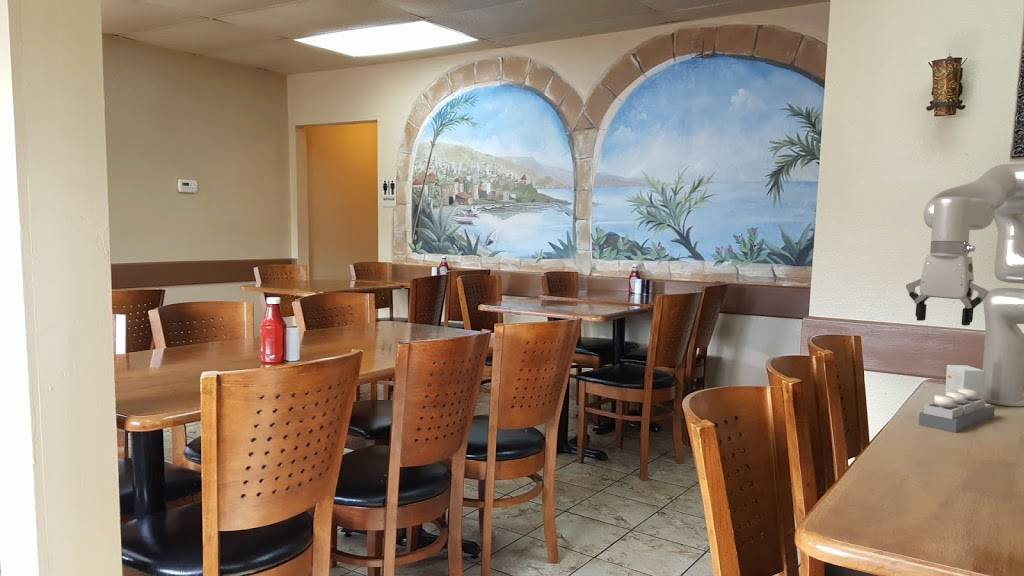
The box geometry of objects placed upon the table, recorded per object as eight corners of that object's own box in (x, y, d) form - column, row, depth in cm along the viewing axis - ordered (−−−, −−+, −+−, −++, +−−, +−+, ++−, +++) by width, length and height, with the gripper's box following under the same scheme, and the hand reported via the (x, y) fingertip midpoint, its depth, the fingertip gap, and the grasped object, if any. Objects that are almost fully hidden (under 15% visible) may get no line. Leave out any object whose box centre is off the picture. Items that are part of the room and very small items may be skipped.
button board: (958, 410, 185) (960, 391, 184) (994, 417, 179) (995, 398, 178) (918, 424, 170) (920, 404, 170) (955, 432, 164) (957, 411, 163)
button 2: (961, 395, 180) (961, 387, 180) (979, 398, 177) (979, 390, 176) (954, 397, 177) (955, 389, 177) (972, 400, 174) (973, 392, 174)
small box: (983, 410, 186) (986, 370, 185) (961, 409, 186) (964, 370, 185) (964, 402, 194) (967, 364, 193) (943, 402, 194) (946, 364, 193)
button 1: (938, 402, 171) (938, 394, 171) (956, 405, 168) (956, 397, 168) (931, 404, 169) (931, 396, 169) (949, 408, 166) (950, 399, 165)
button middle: (949, 398, 175) (950, 390, 175) (967, 401, 172) (968, 393, 172) (943, 400, 173) (943, 392, 173) (961, 404, 170) (962, 396, 170)
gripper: (997, 251, 161) (990, 326, 162) (916, 249, 174) (911, 318, 175) (984, 250, 156) (978, 327, 157) (902, 248, 170) (897, 319, 171)
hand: (942, 322), depth 166 cm, fingers open, 9 cm apart
